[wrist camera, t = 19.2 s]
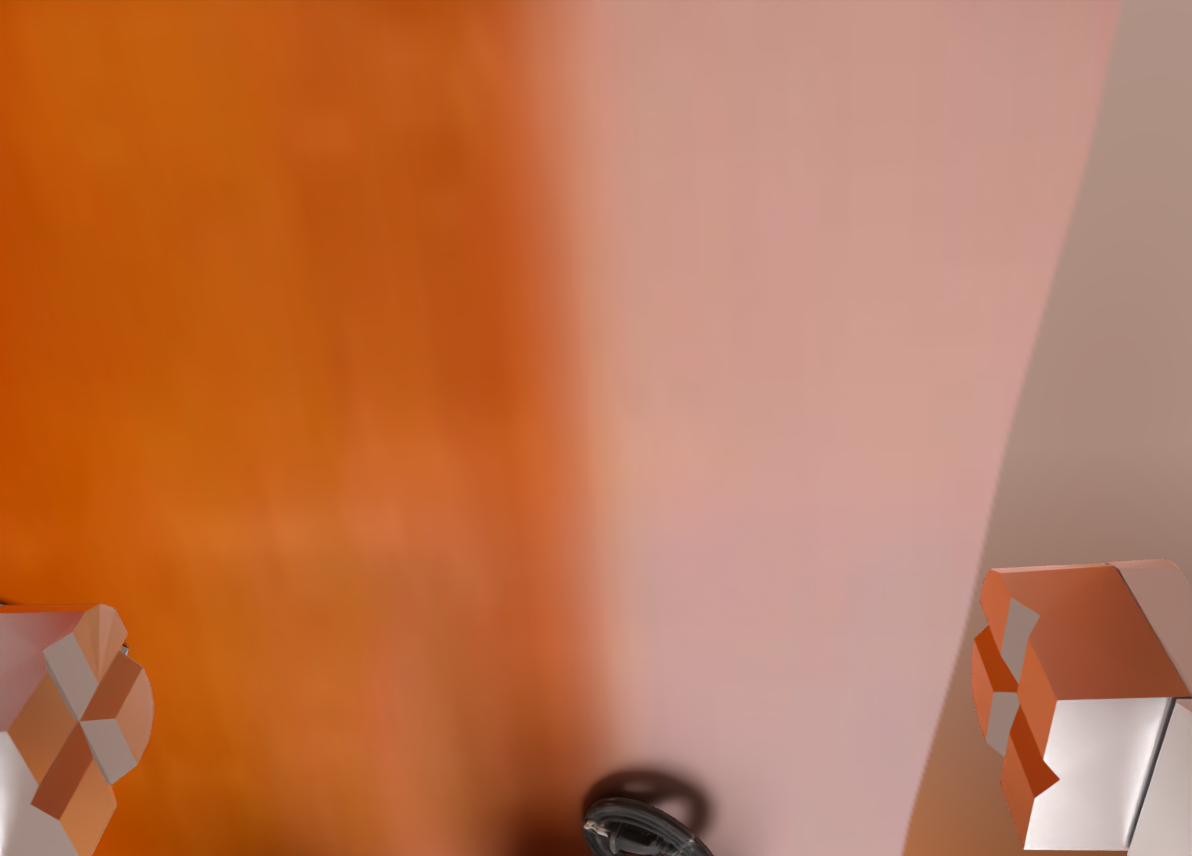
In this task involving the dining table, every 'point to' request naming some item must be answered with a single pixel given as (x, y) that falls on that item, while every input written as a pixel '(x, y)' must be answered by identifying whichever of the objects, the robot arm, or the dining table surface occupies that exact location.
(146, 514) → the dining table surface
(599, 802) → the milk frother
